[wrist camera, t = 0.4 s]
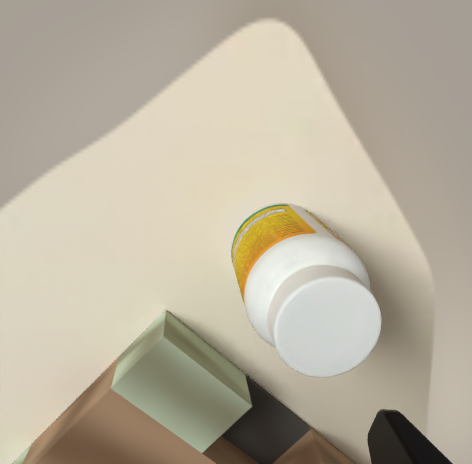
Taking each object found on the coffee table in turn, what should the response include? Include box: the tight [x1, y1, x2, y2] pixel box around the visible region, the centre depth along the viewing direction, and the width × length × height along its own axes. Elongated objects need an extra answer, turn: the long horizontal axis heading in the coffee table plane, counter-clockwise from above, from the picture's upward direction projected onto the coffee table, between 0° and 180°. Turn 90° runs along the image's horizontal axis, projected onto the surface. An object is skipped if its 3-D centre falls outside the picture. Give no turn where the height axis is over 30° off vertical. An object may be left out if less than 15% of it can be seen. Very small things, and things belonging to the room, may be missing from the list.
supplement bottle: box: [231, 203, 382, 377], centre depth 20 cm, size 5×5×10 cm
